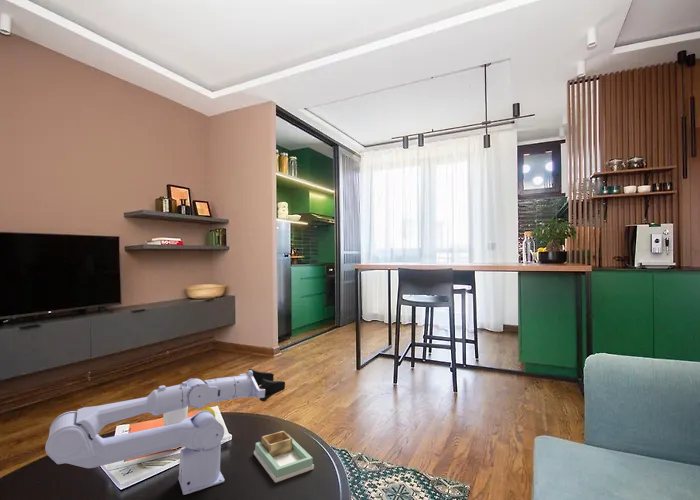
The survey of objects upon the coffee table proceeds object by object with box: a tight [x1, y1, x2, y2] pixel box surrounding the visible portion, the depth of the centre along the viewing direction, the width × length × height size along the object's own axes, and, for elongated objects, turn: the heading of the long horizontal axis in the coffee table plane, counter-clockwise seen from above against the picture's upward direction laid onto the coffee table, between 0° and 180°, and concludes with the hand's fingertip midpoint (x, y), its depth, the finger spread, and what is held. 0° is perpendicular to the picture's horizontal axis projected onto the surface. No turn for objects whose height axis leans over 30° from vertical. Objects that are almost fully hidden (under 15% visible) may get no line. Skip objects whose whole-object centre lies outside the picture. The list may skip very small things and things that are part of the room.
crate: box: [260, 430, 293, 457], centre depth 99 cm, size 7×6×4 cm
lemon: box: [199, 406, 216, 418], centre depth 112 cm, size 6×6×8 cm
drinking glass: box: [162, 406, 189, 426], centre depth 103 cm, size 7×7×15 cm
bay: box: [253, 436, 315, 483], centre depth 96 cm, size 11×16×3 cm
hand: (278, 381), depth 100 cm, fingers open, 7 cm apart
